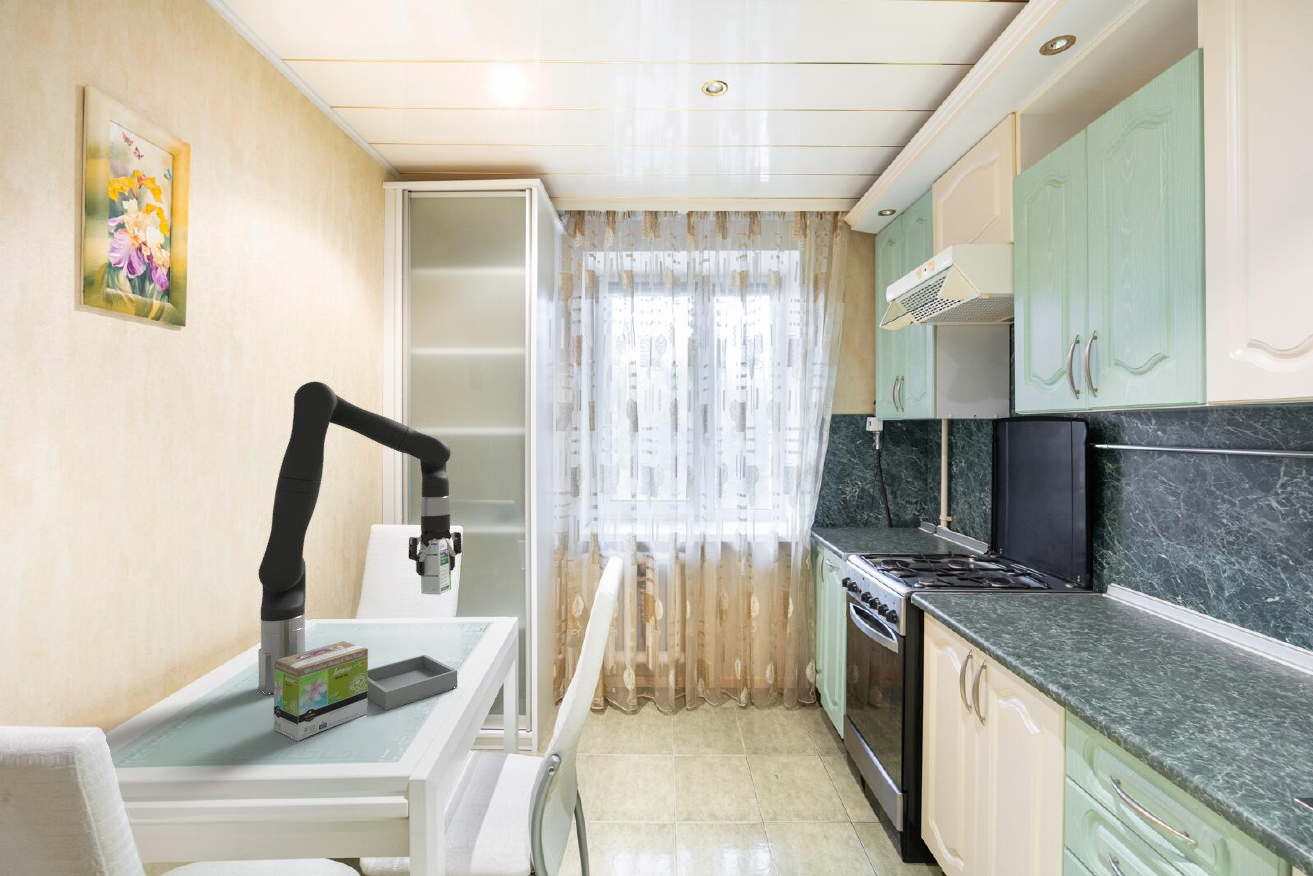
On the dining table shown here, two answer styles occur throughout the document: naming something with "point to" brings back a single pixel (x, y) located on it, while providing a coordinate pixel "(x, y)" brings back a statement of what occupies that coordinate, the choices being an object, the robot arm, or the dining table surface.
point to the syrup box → (436, 568)
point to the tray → (409, 681)
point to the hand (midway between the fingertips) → (435, 572)
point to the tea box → (320, 689)
